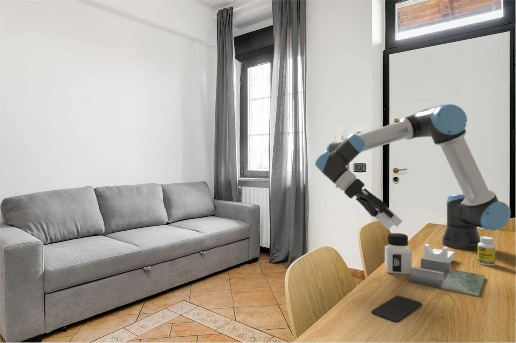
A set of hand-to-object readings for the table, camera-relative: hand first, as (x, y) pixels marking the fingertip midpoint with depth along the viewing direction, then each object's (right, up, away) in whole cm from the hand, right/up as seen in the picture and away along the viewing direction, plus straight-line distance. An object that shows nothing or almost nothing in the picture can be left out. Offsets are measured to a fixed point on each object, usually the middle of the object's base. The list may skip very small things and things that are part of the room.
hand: (395, 225), depth 120 cm
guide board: (+12, -16, -11) cm, 23 cm away
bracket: (+20, -15, +7) cm, 26 cm away
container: (0, -16, -1) cm, 16 cm away
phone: (-12, -17, -31) cm, 38 cm away
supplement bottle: (+36, -15, +5) cm, 39 cm away
